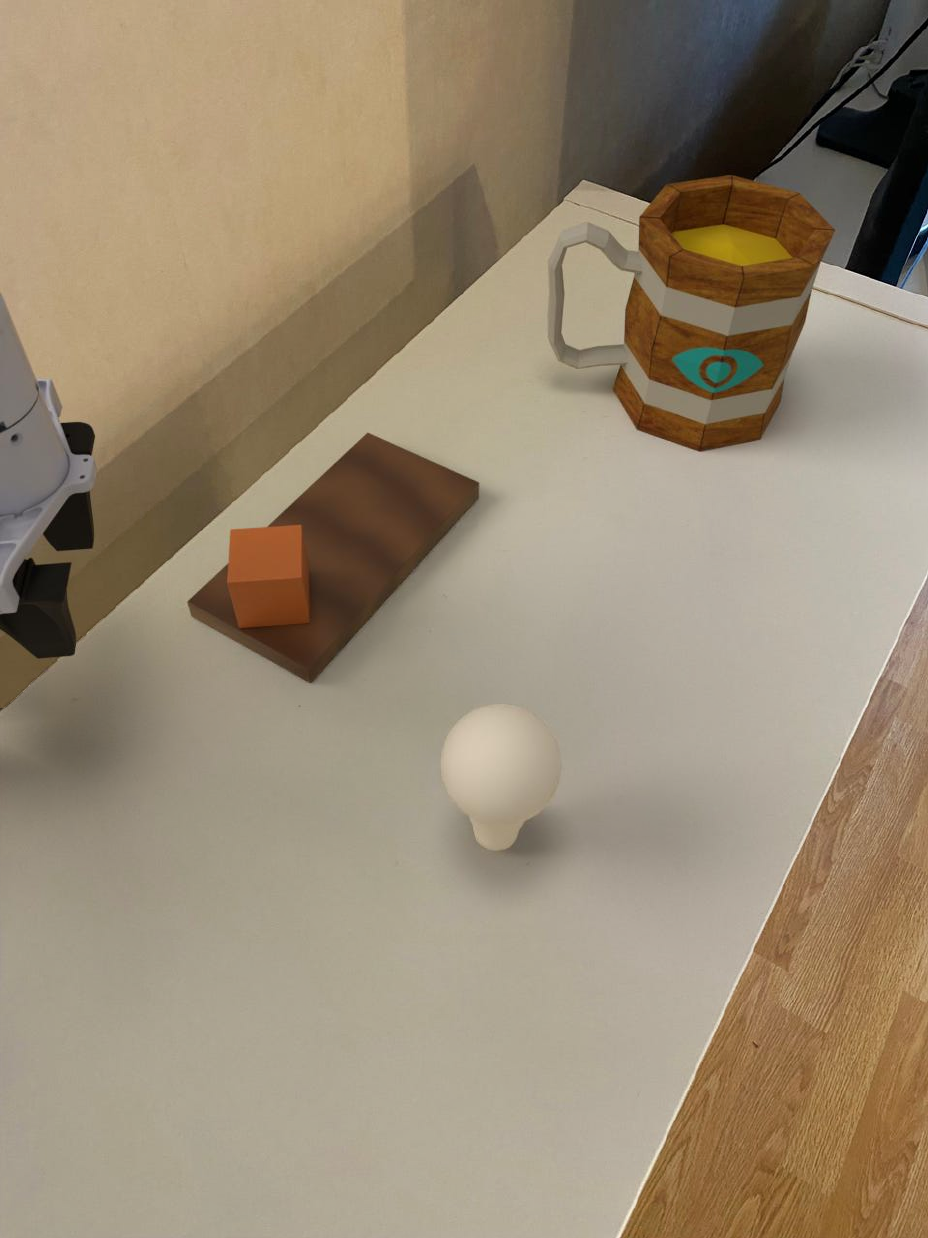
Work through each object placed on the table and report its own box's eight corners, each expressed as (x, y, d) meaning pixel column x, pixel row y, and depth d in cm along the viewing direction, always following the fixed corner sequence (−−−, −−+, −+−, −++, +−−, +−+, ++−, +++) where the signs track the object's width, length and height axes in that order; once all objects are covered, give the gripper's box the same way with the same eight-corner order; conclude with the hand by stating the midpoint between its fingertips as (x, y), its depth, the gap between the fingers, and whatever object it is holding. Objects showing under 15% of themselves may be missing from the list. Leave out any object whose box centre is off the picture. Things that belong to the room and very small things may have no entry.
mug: (773, 351, 86) (824, 180, 74) (788, 458, 78) (848, 285, 66) (542, 333, 87) (556, 163, 76) (532, 437, 79) (546, 264, 67)
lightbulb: (488, 909, 55) (495, 811, 46) (419, 829, 58) (414, 723, 49) (571, 844, 57) (593, 739, 49) (501, 770, 60) (510, 659, 52)
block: (239, 628, 65) (227, 582, 61) (241, 576, 68) (230, 528, 64) (310, 623, 65) (302, 577, 62) (309, 571, 68) (301, 524, 64)
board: (310, 683, 64) (308, 669, 63) (191, 616, 67) (186, 601, 66) (479, 497, 75) (479, 482, 74) (368, 447, 78) (367, 431, 77)
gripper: (38, 509, 41) (126, 698, 52) (85, 301, 50) (151, 498, 61) (-141, 521, 41) (-16, 710, 51) (-62, 310, 50) (31, 507, 60)
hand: (66, 596), depth 56 cm, fingers open, 7 cm apart
